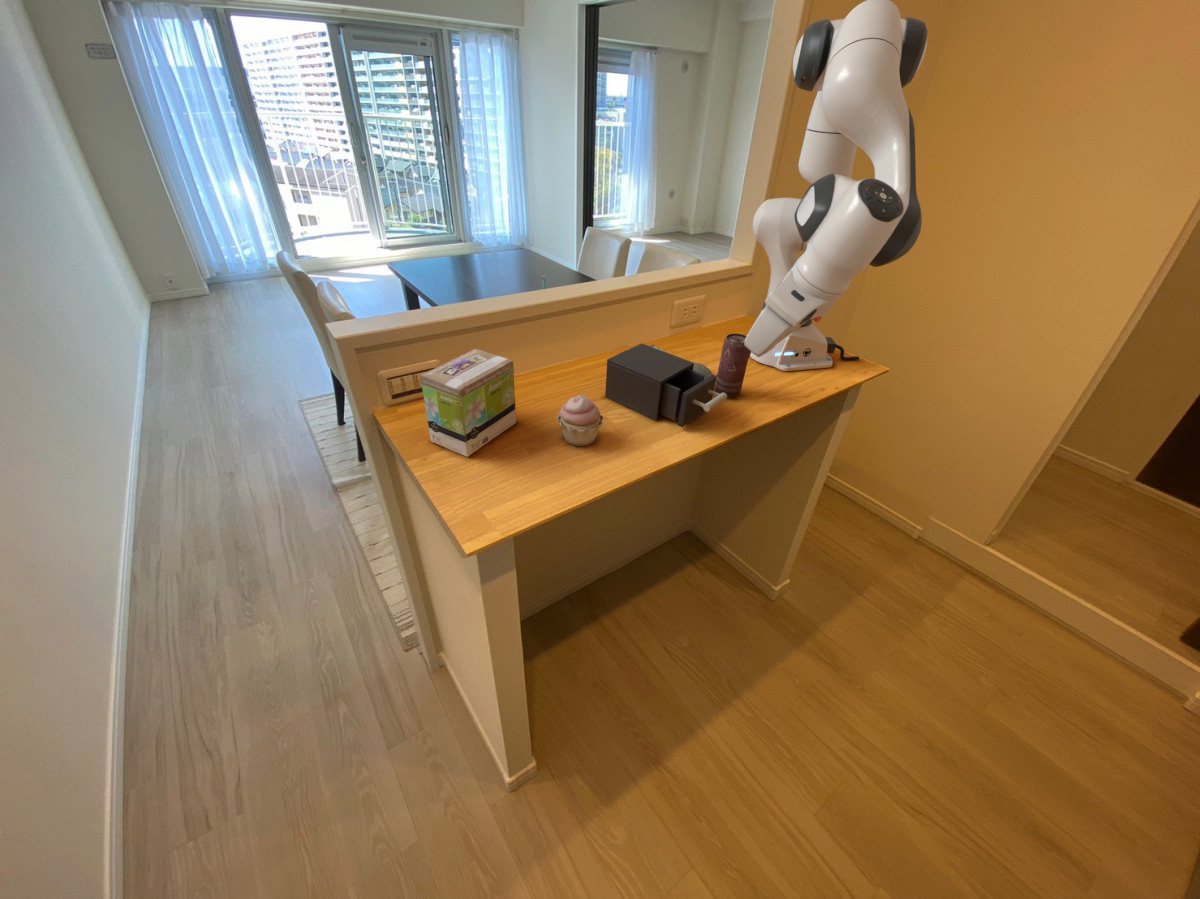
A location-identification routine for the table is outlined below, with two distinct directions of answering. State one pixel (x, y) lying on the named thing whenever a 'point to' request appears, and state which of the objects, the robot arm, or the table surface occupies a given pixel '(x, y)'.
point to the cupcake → (580, 421)
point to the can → (732, 366)
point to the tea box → (469, 400)
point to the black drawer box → (642, 378)
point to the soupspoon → (696, 367)
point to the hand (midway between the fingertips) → (764, 349)
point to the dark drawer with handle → (689, 396)
